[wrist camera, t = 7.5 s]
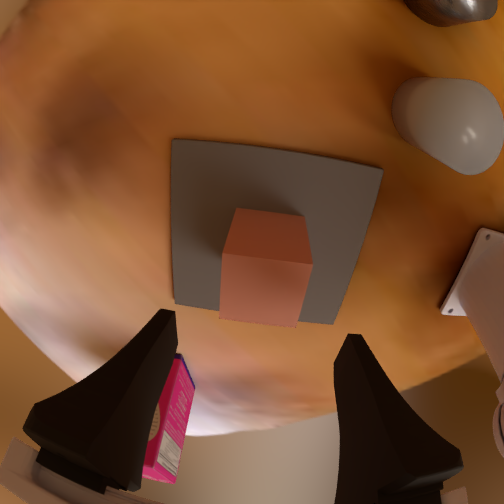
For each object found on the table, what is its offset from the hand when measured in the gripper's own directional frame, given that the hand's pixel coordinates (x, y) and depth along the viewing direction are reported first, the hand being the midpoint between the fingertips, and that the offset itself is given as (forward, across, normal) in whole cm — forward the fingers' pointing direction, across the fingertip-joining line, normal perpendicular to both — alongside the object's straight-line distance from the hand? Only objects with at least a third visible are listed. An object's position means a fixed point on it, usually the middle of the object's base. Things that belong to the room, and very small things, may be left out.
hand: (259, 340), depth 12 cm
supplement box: (+8, +8, +16) cm, 20 cm away
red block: (+8, 0, 0) cm, 8 cm away
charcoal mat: (+8, 0, 0) cm, 8 cm away
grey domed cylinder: (+8, -8, -10) cm, 15 cm away
